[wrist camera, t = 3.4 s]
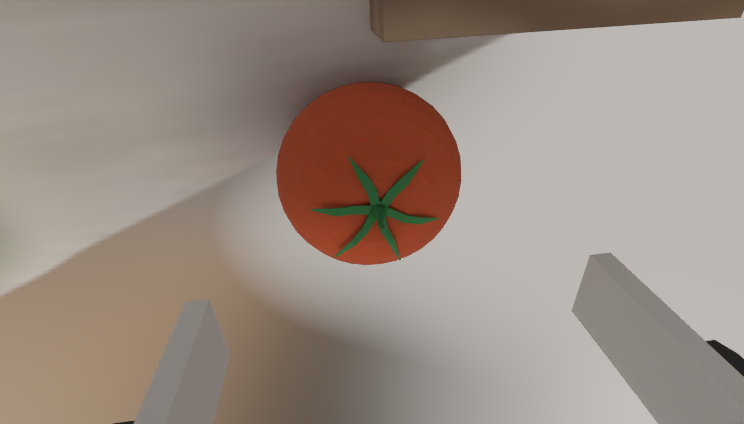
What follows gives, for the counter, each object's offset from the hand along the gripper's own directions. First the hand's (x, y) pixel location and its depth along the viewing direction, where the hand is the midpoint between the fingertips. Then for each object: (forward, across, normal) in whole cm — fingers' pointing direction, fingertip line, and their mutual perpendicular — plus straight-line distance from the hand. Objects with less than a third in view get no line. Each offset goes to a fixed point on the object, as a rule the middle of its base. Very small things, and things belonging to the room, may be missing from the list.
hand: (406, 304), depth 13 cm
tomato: (+14, 0, 0) cm, 15 cm away
